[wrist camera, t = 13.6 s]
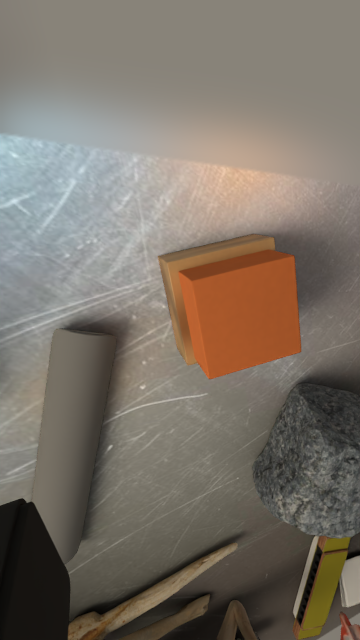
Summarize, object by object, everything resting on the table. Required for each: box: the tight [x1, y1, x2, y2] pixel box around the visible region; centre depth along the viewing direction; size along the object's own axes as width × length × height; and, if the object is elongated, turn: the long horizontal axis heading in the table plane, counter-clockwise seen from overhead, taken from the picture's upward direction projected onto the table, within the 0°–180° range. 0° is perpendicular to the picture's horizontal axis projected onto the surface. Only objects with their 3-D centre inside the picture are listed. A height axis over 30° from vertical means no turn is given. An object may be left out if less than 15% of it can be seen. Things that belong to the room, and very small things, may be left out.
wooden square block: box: [158, 234, 275, 365], centre depth 24 cm, size 7×7×3 cm
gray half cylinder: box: [31, 329, 117, 564], centre depth 25 cm, size 4×20×2 cm, turn 167°
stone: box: [252, 383, 360, 538], centre depth 28 cm, size 12×8×10 cm
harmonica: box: [293, 536, 350, 640], centre depth 37 cm, size 15×3×2 cm, turn 174°
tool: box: [68, 543, 238, 640], centre depth 31 cm, size 17×3×3 cm, turn 114°
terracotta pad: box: [178, 249, 301, 379], centre depth 21 cm, size 6×6×3 cm
